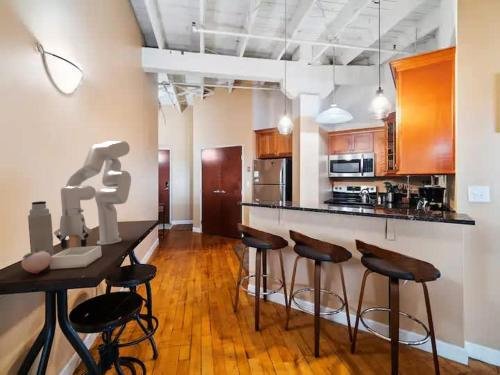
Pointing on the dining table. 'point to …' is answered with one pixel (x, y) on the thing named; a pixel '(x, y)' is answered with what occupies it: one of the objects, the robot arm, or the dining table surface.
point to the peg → (73, 241)
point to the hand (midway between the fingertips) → (74, 247)
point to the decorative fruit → (36, 261)
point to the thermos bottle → (40, 228)
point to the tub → (75, 257)
